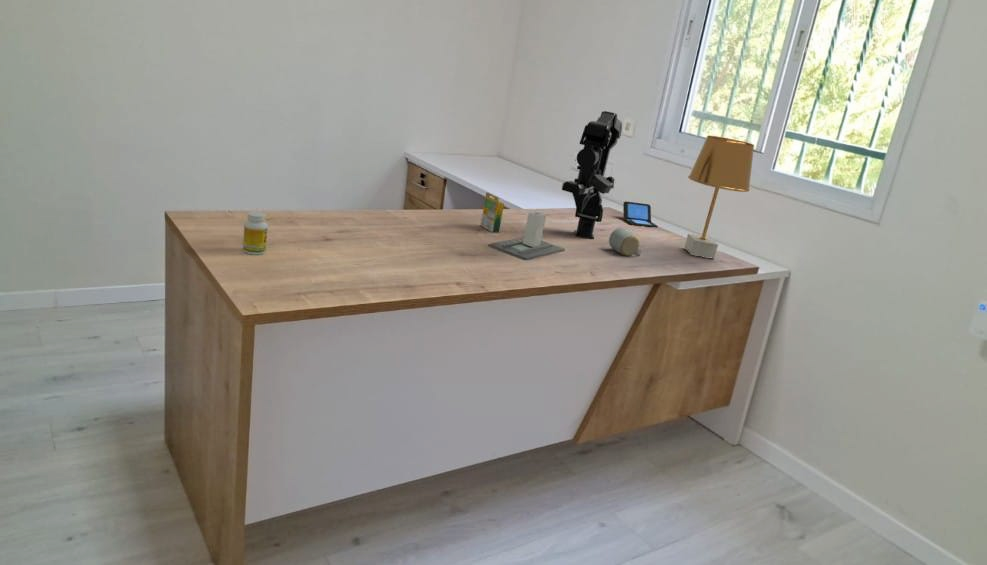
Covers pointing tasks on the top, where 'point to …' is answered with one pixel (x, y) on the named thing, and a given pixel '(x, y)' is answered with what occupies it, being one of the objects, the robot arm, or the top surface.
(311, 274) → the top surface
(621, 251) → the ceramic mug
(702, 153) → the lamp
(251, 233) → the supplement bottle
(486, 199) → the crayon box
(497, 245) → the fader console
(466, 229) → the top surface
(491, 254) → the top surface
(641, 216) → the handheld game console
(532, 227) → the fader knob
